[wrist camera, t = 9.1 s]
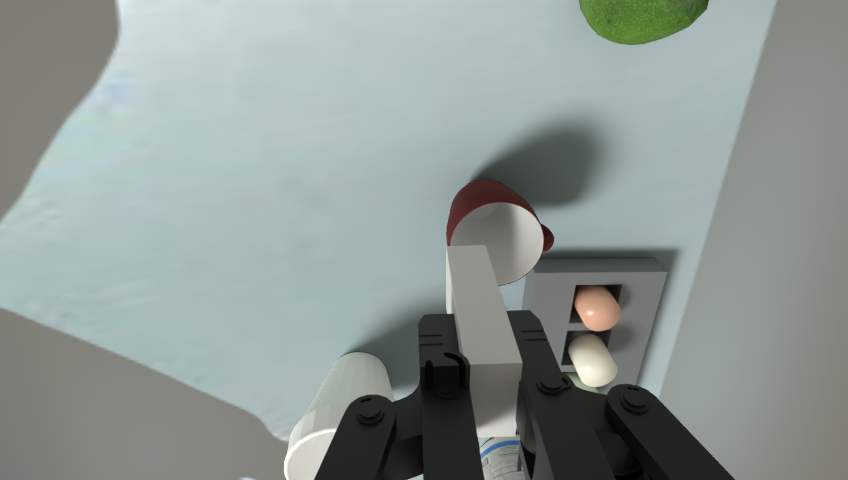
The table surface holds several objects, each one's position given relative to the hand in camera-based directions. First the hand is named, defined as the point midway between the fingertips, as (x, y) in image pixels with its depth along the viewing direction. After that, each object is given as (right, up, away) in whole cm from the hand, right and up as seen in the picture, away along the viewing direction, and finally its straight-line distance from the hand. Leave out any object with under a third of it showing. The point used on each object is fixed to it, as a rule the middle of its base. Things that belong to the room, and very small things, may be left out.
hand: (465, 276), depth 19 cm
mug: (+5, +5, +30) cm, 31 cm away
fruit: (+14, +23, +22) cm, 35 cm away
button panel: (+17, -9, +38) cm, 42 cm away
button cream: (+17, -11, +35) cm, 40 cm away
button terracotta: (+17, -5, +34) cm, 38 cm away
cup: (-10, -15, +40) cm, 44 cm away
